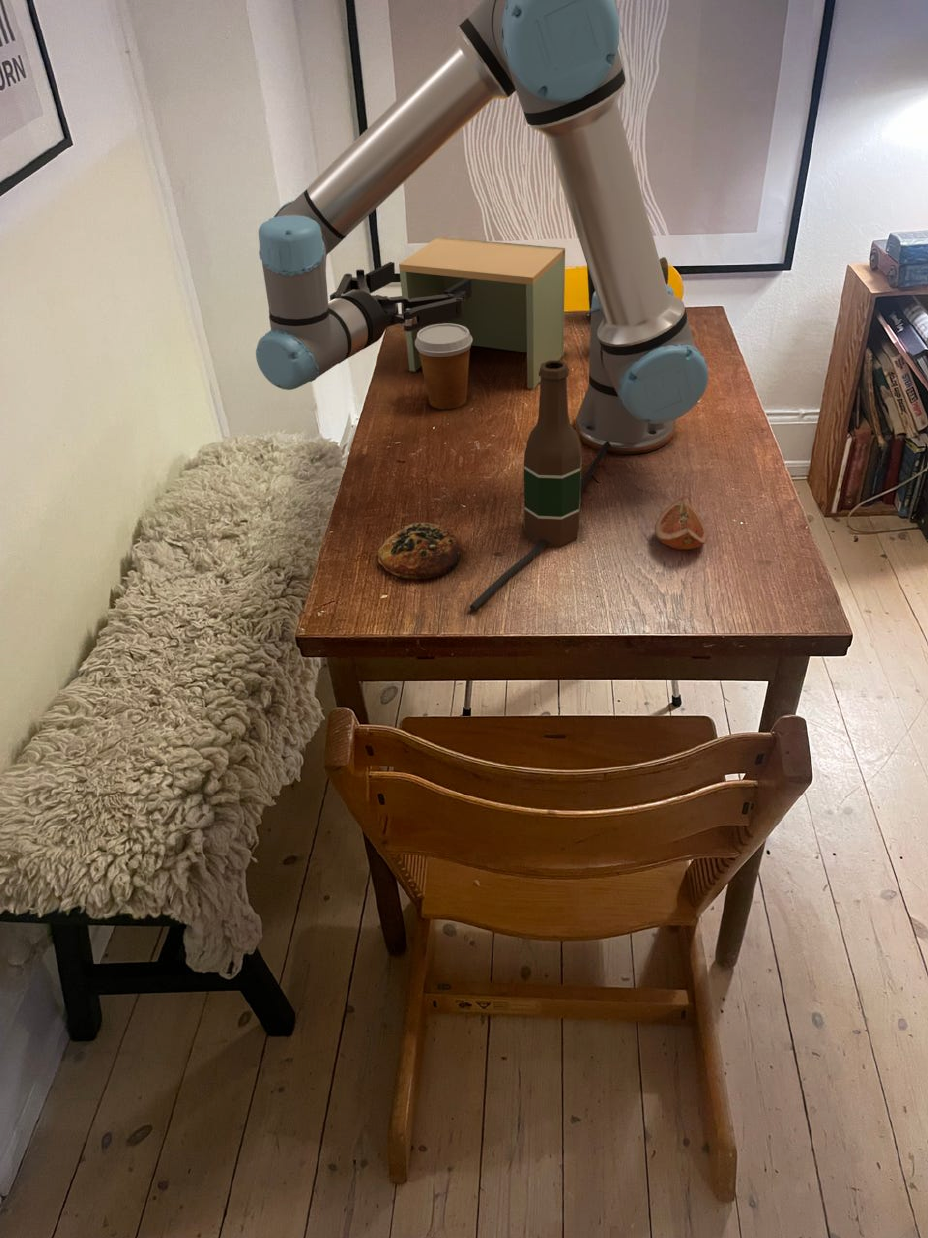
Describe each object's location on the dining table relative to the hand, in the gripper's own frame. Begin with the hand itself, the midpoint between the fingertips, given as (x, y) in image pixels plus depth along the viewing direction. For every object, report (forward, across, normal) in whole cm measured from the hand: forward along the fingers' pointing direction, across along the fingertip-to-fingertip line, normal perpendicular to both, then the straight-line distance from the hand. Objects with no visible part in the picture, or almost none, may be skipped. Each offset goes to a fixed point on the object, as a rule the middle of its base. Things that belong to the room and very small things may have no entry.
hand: (430, 278), depth 138 cm
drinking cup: (+49, +9, -21) cm, 54 cm away
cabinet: (+22, -2, -22) cm, 31 cm away
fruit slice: (-18, +50, -21) cm, 57 cm away
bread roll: (-36, +20, -23) cm, 47 cm away
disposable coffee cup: (+6, 0, -23) cm, 23 cm away
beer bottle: (-23, +33, -22) cm, 46 cm away
